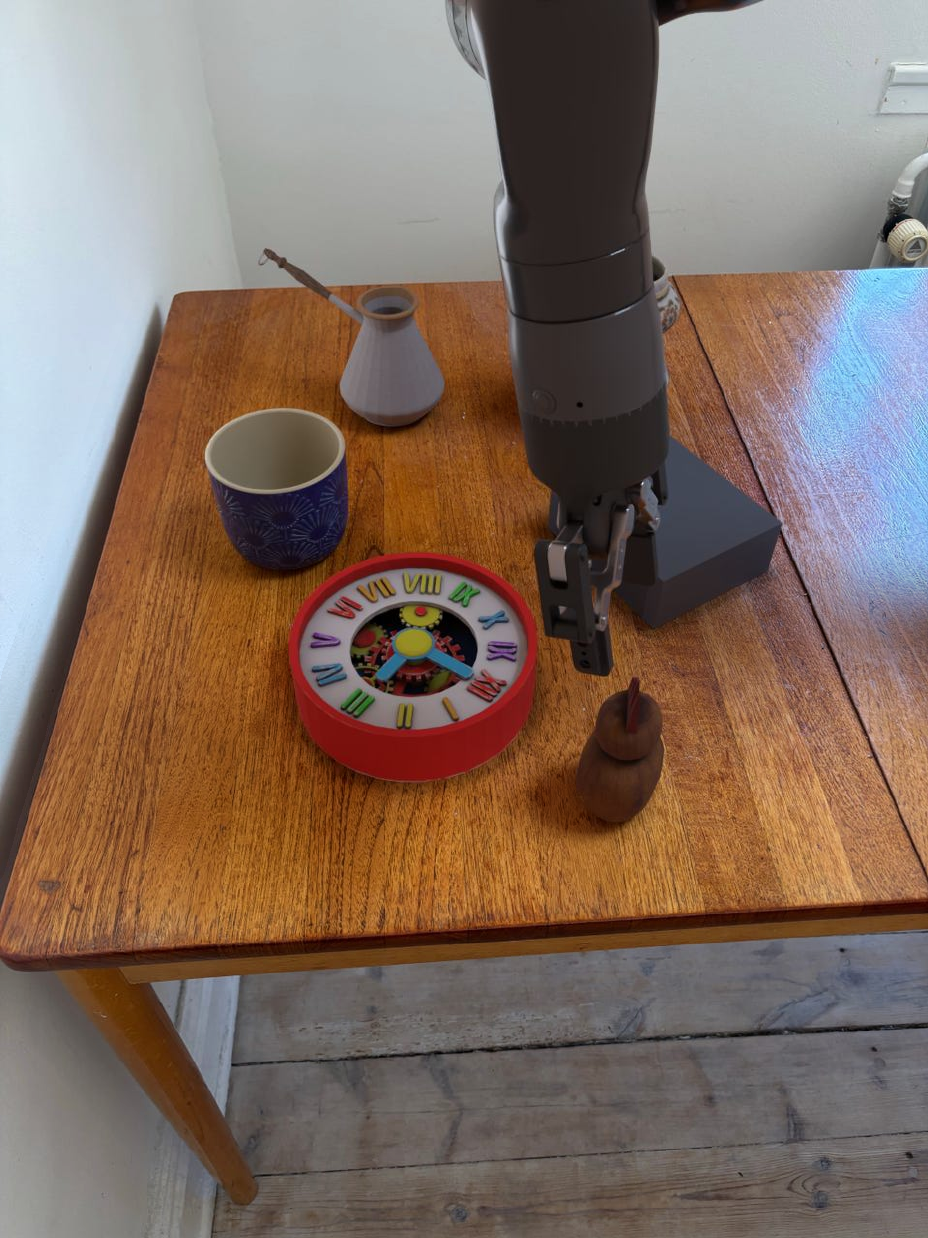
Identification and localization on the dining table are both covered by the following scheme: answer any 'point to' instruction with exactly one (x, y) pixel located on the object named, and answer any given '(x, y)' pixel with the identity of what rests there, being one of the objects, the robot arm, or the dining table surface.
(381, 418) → the coffee pot
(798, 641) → the dining table surface
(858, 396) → the dining table surface
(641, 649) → the dining table surface
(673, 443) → the grey display pedestal
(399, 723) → the toy clock
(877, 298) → the dining table surface
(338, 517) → the planter
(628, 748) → the wooden figurine
